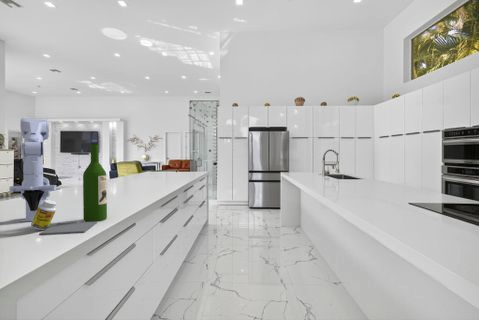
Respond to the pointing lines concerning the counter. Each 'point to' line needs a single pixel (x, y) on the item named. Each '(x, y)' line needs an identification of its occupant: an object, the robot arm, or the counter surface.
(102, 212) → the wine bottle
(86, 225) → the mat
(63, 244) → the counter surface
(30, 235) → the counter surface
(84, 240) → the counter surface
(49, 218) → the supplement bottle
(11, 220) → the counter surface
